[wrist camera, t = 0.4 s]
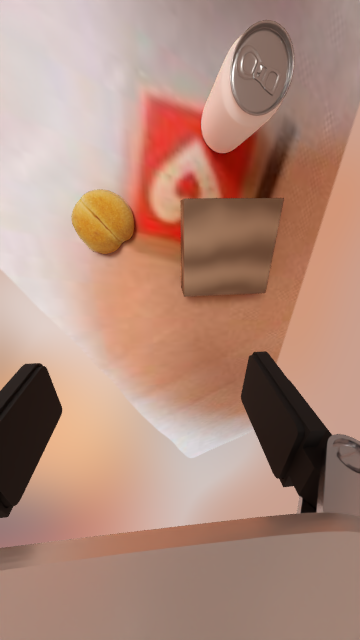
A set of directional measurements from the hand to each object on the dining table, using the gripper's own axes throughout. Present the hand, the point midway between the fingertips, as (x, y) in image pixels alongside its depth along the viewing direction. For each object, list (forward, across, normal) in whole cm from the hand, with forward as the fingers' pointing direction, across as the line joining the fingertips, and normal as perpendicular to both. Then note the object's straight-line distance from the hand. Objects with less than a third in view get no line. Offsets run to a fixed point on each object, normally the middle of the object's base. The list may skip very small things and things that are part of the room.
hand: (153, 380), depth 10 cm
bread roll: (+30, +8, -5) cm, 31 cm away
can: (+30, -10, -18) cm, 36 cm away
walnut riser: (+29, -11, -2) cm, 31 cm away
